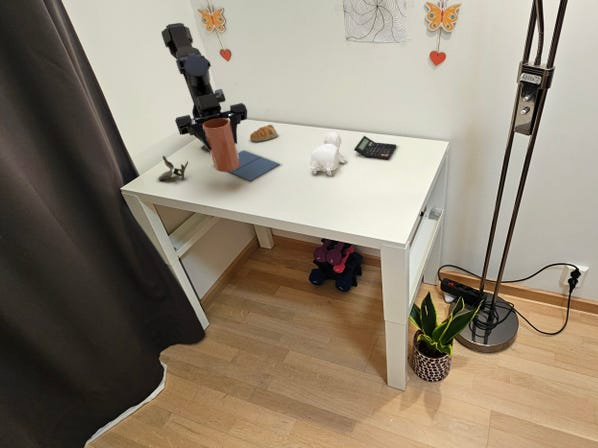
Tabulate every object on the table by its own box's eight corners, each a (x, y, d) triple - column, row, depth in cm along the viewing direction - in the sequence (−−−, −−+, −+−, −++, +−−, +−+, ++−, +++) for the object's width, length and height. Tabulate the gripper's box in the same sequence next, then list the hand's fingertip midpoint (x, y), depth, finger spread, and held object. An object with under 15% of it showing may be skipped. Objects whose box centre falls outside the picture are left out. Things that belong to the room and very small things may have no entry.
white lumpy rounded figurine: (338, 182, 123) (350, 146, 130) (331, 165, 116) (345, 127, 123) (312, 180, 125) (326, 144, 132) (304, 162, 118) (320, 125, 125)
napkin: (214, 166, 129) (214, 164, 129) (243, 151, 137) (243, 150, 136) (250, 181, 120) (250, 180, 120) (279, 164, 128) (279, 163, 127)
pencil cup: (210, 167, 114) (197, 124, 106) (229, 157, 119) (219, 116, 111) (225, 174, 111) (213, 130, 103) (245, 164, 115) (235, 121, 107)
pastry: (255, 144, 140) (253, 134, 138) (247, 139, 145) (244, 129, 142) (279, 136, 145) (277, 126, 142) (270, 131, 149) (268, 121, 147)
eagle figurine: (193, 167, 127) (167, 160, 128) (183, 156, 120) (156, 150, 121) (184, 188, 125) (158, 182, 126) (174, 179, 118) (146, 172, 119)
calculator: (388, 160, 126) (388, 151, 125) (354, 156, 130) (353, 147, 128) (396, 146, 133) (396, 138, 132) (363, 143, 137) (363, 135, 135)
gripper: (163, 87, 100) (184, 144, 99) (236, 73, 107) (257, 126, 105) (170, 108, 110) (189, 159, 109) (237, 93, 117) (255, 142, 116)
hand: (223, 146), depth 110 cm, fingers closed on pencil cup, 7 cm apart
